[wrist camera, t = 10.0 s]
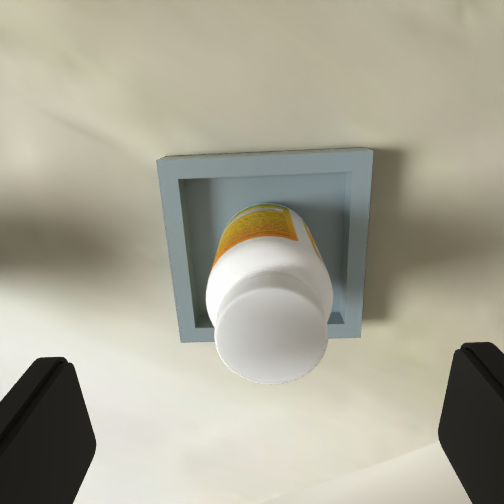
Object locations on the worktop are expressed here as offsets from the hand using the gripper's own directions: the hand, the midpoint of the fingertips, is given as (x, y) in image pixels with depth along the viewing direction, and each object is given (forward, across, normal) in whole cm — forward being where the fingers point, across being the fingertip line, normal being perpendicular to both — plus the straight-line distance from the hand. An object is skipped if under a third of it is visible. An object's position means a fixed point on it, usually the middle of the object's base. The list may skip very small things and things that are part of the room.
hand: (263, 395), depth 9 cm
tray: (+14, 0, +1) cm, 14 cm away
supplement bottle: (+13, 0, +1) cm, 13 cm away
